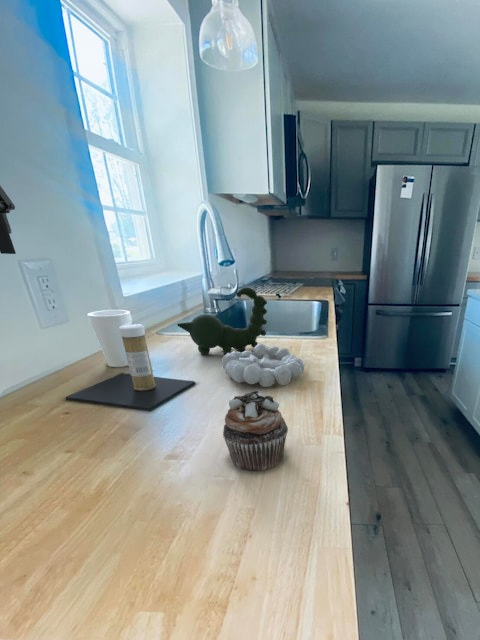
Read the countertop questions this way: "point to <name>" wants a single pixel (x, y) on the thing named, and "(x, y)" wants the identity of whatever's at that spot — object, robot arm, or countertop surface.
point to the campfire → (263, 366)
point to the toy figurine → (228, 328)
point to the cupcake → (255, 432)
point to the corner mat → (131, 392)
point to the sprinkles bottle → (137, 356)
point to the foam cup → (110, 334)
